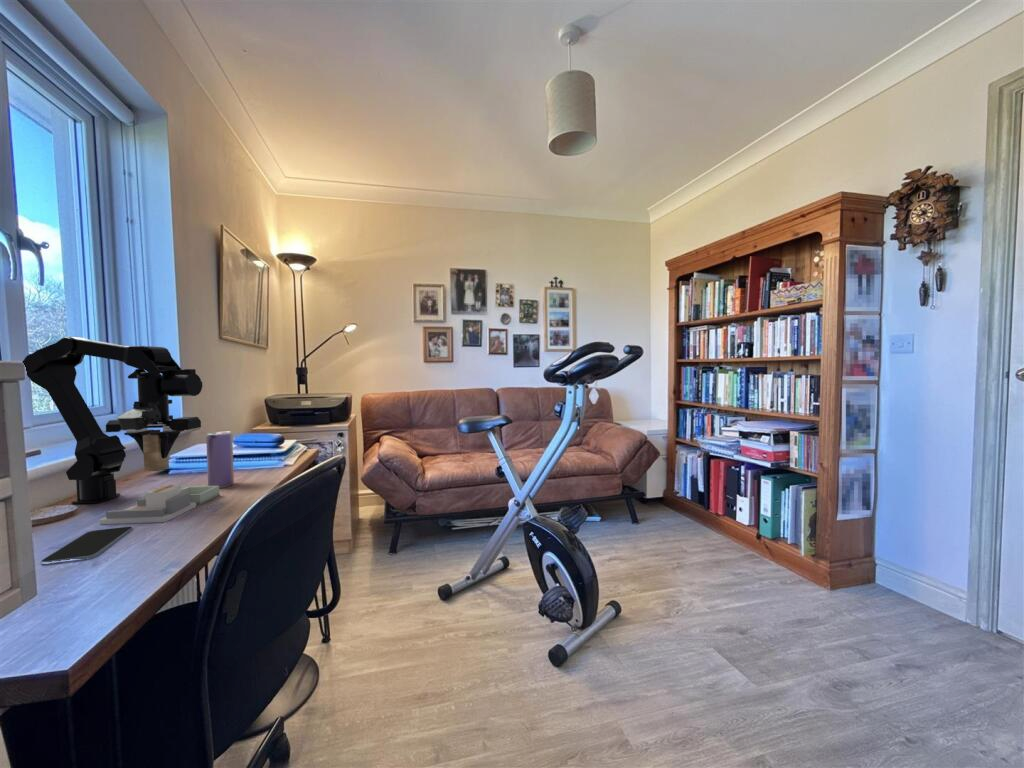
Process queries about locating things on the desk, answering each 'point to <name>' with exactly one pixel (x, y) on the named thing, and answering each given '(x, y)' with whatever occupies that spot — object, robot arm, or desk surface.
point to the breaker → (161, 496)
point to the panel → (150, 511)
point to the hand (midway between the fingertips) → (156, 458)
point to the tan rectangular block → (153, 453)
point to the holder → (201, 493)
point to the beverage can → (220, 459)
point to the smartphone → (89, 544)
